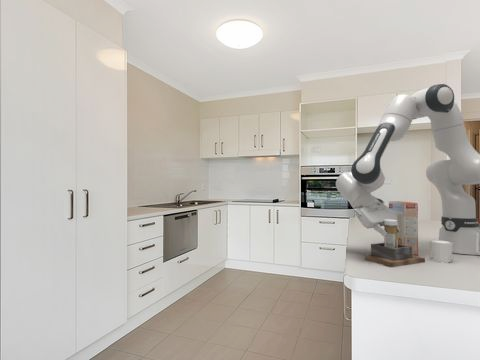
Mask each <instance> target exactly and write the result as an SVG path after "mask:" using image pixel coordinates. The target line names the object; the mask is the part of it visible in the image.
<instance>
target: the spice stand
mask: <svg viewBox="0 0 480 360" xmlns="http://www.w3.org/2000/svg"><path fill="white" fill-rule="evenodd" d="M364 260H366V261H369V262H371V263H372V262H373V263H375V264H379V265H381V266H386V267H389V268H395V267H401V266H408V265H409V266H410V265H414V264H420V263H422V264H423V263H425V262H426V261H425V260H426V259H425V257H423V256H419V255H412V247H409V246H404V245H400V244H398V248H389V247H385V246H384V242H379V243H371V244H370V254H365V255H364Z"/></svg>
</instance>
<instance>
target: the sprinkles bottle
mask: <svg viewBox="0 0 480 360" xmlns="http://www.w3.org/2000/svg"><path fill="white" fill-rule="evenodd" d="M397 225H398V221H397V220H393V219H386V220H384V226H383V227H384V228H383V229H384V230H386V231H387V232H388V235H387V236H383V243H384V246H385V247H389V248H398V239H397Z"/></svg>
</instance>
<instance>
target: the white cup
mask: <svg viewBox="0 0 480 360" xmlns="http://www.w3.org/2000/svg"><path fill="white" fill-rule="evenodd" d="M429 246H430V252H431V261H433V262H436V261H437V262H438V263H442V262H444V264H450V263H452V254H453V253H452V246H453V243H452V242H448V241H442V240H438V239H433V240H429ZM449 262H450V263H449Z"/></svg>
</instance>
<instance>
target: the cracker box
mask: <svg viewBox="0 0 480 360" xmlns="http://www.w3.org/2000/svg"><path fill="white" fill-rule="evenodd" d="M388 208H389V209H390V210H391V211H392V212H393V213H394V214H395V216H396V217H397V221H398V225H397V227H398V228H399V230H400V232H399V233H397V239H398V244H400V245H404V246H409V247H412V255H415V256H419V203H418V202H411V201H410V202H409V201H402V200H400V201H399V200H398V201H397V200H396V201H395V200H394V201H392V200H390V201H388Z"/></svg>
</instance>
